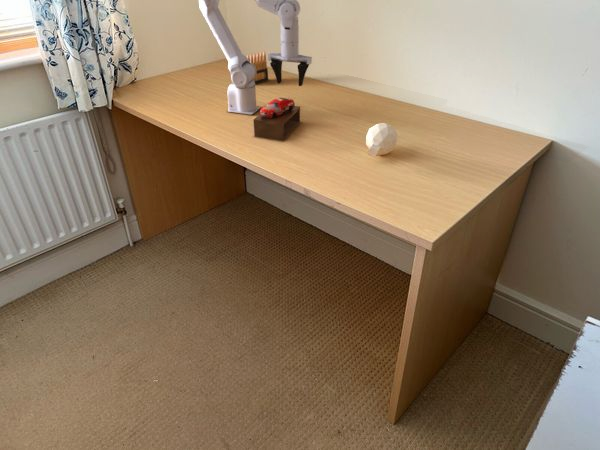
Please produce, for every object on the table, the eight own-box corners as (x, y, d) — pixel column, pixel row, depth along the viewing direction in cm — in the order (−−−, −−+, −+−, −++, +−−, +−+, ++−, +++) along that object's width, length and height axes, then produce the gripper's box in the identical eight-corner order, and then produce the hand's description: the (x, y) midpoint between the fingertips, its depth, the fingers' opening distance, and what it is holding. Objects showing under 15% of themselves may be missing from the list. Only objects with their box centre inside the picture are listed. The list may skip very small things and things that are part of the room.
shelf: (254, 136, 135) (253, 119, 132) (274, 119, 148) (273, 102, 145) (282, 140, 133) (282, 123, 130) (300, 122, 145) (300, 106, 142)
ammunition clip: (249, 85, 179) (247, 55, 172) (246, 84, 180) (244, 54, 173) (268, 80, 185) (267, 50, 178) (265, 79, 186) (264, 50, 179)
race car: (269, 120, 132) (269, 108, 129) (256, 116, 134) (256, 104, 132) (297, 109, 140) (297, 96, 137) (285, 105, 143) (284, 93, 140)
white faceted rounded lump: (367, 137, 131) (353, 157, 123) (378, 112, 124) (364, 131, 116) (393, 150, 129) (381, 171, 122) (406, 125, 123) (393, 146, 115)
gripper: (263, 42, 137) (265, 85, 145) (307, 45, 133) (306, 89, 141) (272, 37, 143) (273, 79, 150) (314, 41, 139) (313, 83, 146)
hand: (290, 84), depth 146 cm, fingers open, 7 cm apart
